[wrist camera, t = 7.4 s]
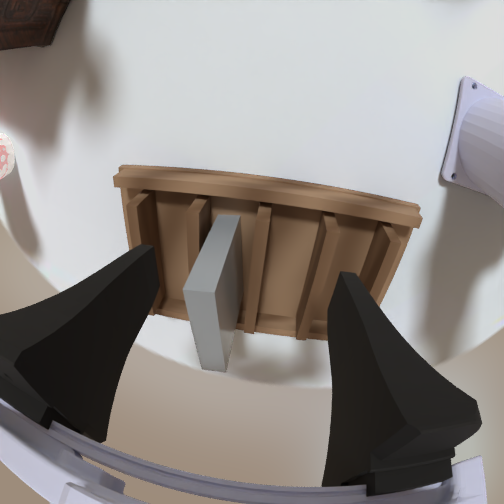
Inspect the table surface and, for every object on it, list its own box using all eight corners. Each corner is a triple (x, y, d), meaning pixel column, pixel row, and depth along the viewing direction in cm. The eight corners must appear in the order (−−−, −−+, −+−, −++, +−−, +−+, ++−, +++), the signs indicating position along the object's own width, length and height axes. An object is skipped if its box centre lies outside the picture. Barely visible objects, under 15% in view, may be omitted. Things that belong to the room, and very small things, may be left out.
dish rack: (417, 204, 18) (437, 228, 15) (365, 326, 26) (371, 356, 23) (122, 164, 19) (96, 182, 16) (141, 294, 27) (126, 320, 24)
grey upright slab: (240, 215, 20) (214, 292, 13) (243, 291, 24) (226, 372, 17) (217, 214, 20) (182, 289, 14) (224, 289, 24) (202, 369, 18)
